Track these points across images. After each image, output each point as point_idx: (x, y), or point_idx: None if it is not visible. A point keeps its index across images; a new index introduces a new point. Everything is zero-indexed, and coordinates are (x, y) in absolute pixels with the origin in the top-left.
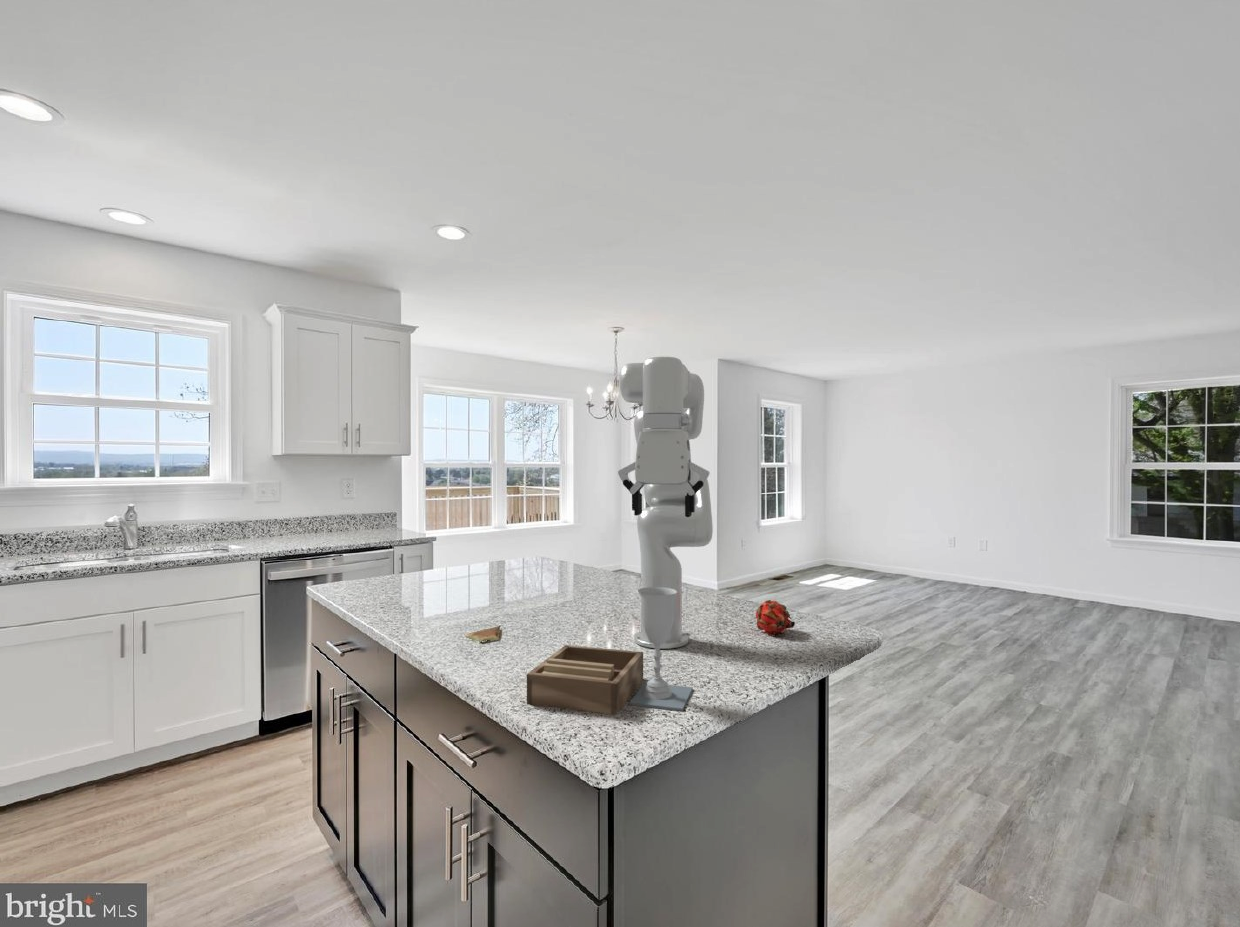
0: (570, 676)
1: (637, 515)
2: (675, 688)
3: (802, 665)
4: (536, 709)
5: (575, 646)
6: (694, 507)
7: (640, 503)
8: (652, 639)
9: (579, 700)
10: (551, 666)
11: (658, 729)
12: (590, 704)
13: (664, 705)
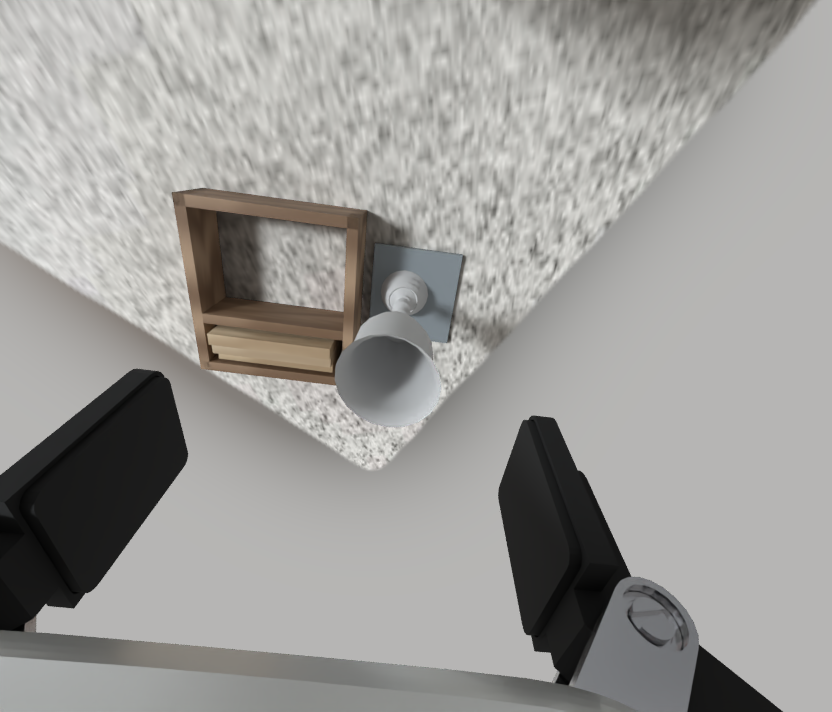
0: (270, 364)
1: (183, 447)
2: (432, 266)
3: (747, 38)
4: None
5: (199, 199)
6: (587, 490)
7: (124, 470)
8: (389, 348)
9: None
10: (227, 354)
11: None
12: None
13: None
